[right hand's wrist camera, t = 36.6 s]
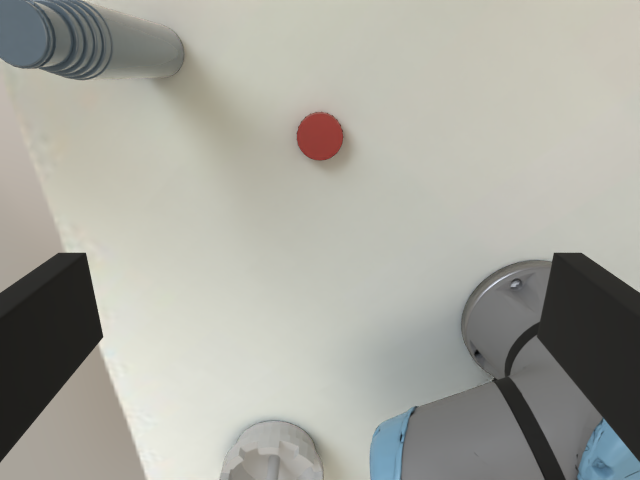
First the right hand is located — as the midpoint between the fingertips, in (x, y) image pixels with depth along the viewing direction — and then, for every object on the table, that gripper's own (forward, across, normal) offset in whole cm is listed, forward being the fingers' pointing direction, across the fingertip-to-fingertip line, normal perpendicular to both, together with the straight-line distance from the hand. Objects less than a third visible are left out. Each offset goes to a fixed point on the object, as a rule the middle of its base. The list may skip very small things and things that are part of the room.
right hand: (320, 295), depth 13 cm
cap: (+33, 0, 0) cm, 33 cm away
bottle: (+34, +15, -8) cm, 39 cm away
